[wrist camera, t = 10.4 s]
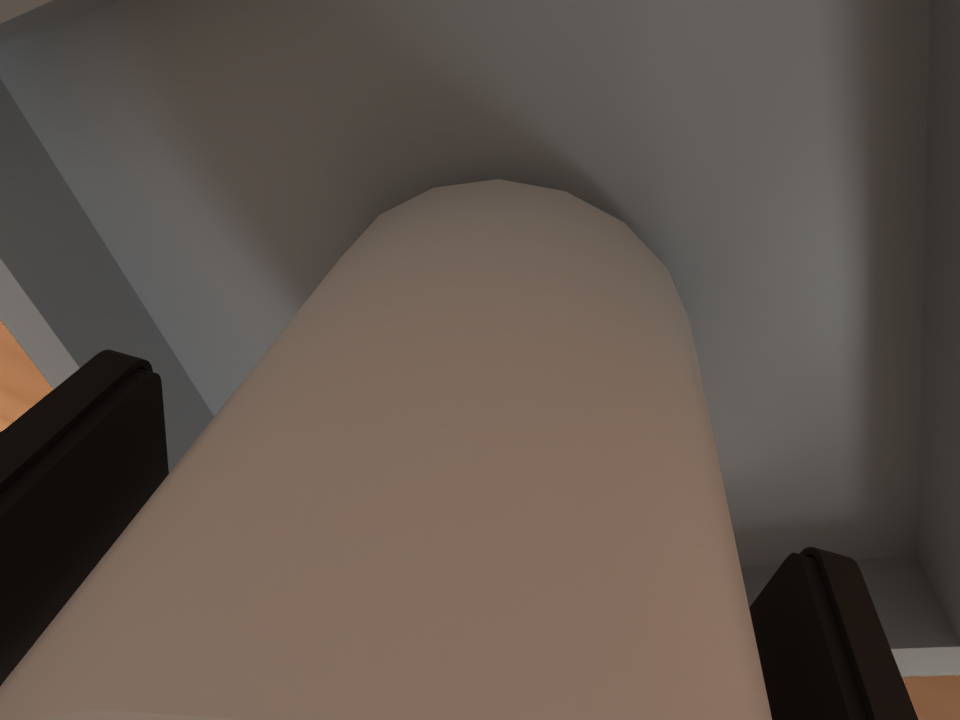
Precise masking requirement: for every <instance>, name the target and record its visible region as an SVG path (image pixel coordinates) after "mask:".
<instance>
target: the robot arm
mask: <svg viewBox="0 0 960 720" xmlns="http://www.w3.org/2000/svg"><path fill="white" fill-rule="evenodd" d="M168 474H169V468H168V455H167V443H166V430H165V418H164V405H163V393H162V381H161V377H160V375H159V374H157V373H154V372H153V369H152V365H151V364H150V362H149V361H147V360H145V359H142V358H138V357H135V356H131V355H127V354H124V353H120V352H117V351H113V350H110V349H108V350H103V351H101V352H100V353H98V354H97V355H95V356H94V357H93V358H92V359H90V360H89V361H88V362H87V363H86V364H84V365H83V366H82V367H81V368H79V369H78V370H77V371H76V372H75V373H73V374H72V375H71V376H70V377H68V378H67V379H66V380H65V381H64V382H62V383H61V384H60V385H59V386H57V387H56V388H55V389H54V390H53V391H51V392H50V393H49V394H48V395H46V396H45V397H44V398H43V399H42V400H40V401H39V402H38V403H37V404H35V405H34V406H33V407H32V408H30V409H29V410H28V411H27V412H26V413H24V414H23V415H22V416H21V417H19V418H18V419H17V420H16V421H15V422H13V423H12V424H11V425H10V426H8V427H7V428H6V429H5V430H3V431H2V432H0V686H1V685H2V684H3V682H4V681H5V680H6V679H7V677H8V676H9V675H10V673H11V672H12V671H13V670H14V668H15V667H16V666H17V665H18V663H19V662H20V661H21V660H22V658H23V657H24V656H25V655H26V653H27V652H28V651H29V650H30V648H31V647H32V646H33V645H34V643H35V642H36V641H37V639H38V638H39V637H40V636H41V634H42V633H43V632H44V631H45V629H46V628H47V627H48V626H49V624H50V623H51V622H52V621H53V619H54V618H55V617H56V616H57V614H58V613H59V612H60V610H61V609H62V608H63V607H64V605H65V604H66V603H67V602H68V600H69V599H70V598H71V597H72V595H73V594H74V593H75V592H76V590H77V589H78V588H79V587H80V585H81V584H82V583H83V582H84V580H85V579H86V578H87V576H88V575H89V574H90V573H91V571H92V570H93V569H94V568H95V566H96V565H97V564H98V563H99V561H100V560H101V559H102V558H103V556H104V555H105V554H106V553H107V551H108V550H109V549H110V547H111V546H112V545H113V544H114V542H115V541H116V540H117V539H118V537H119V536H120V535H121V534H122V532H123V531H124V530H125V529H126V527H127V526H128V525H129V524H130V522H131V521H132V520H133V519H134V517H135V516H136V515H137V513H138V512H139V511H140V510H141V508H142V507H143V506H144V505H145V503H146V502H147V501H148V500H149V498H150V497H151V496H152V495H153V493H154V492H155V491H156V490H157V488H158V487H159V486H160V485H161V483H162V482H163V481H164V479H165V478H166V477H167V476H168ZM749 610H750V615H751V620H752V625H753V629H754V634H755V639H756V644H757V649H758V654H759V658H760V663H761V668H762V673H763V678H764V683H765V687H766V692H767V697H768V702H769V707H770V712H771V717H772V720H918V718H917V715H916V713H915V710H914V708H913V705H912V702H911V700H910V697H909V695H908V692H907V689H906V687H905V684H904V682H903V679H902V676H901V674H900V671H899V669H898V666H897V663H896V661H895V658H894V656H893V653H892V651H891V648H890V645H889V643H888V640H887V638H886V635H885V632H884V630H883V627H882V625H881V622H880V619H879V617H878V614H877V612H876V609H875V606H874V604H873V601H872V599H871V596H870V593H869V591H868V588H867V586H866V583H865V580H864V578H863V575H862V573H861V570H860V568H859V566H858V564H857V562H856V561H855V560H853V559H852V558H850V557H847V556H843V555H840V554H836V553H833V552H829V551H825V550H822V549H818V548H815V547H807V548H805V549H803V550H802V551H801V552H800V553H799V554H798V553H791V554H790V555H789V556H788V557H787V558H786V559H785V560H784V562H783V563H782V564H781V566H780V567H779V568H778V570H777V571H776V572H775V574H774V575H773V576H772V578H771V579H770V580H769V582H768V583H767V584H766V586H765V587H764V588H763V590H762V591H761V593H760V594H759V595H758V597H757V598H756V599H755V601H754V602H753V603H752V605H751V606H750V607H749Z"/></svg>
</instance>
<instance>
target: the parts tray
mask: <svg viewBox="0 0 960 720" xmlns="http://www.w3.org/2000/svg"><path fill="white" fill-rule="evenodd" d="M495 179H501V180H506V181H512V182H517V183H523V184H528V185H534V186H539V187H545V188H550V189H556V190H561V191H566V192H568V193H570V194H572V195H573V196H575V197H577V198H579V199H581V200H583V201H585V202H587V203H588V204H590V205H592V206H594V207H596V208H598V209H600V210H602V211H603V212H605V213H607V214H609V215H611V216H613V217H615V218H617V219H619V220H620V221H622V222H624V223H625V224H626V225H627V226H628V227H629V228H630V229H631V230H632V231H633V232H634V233H635V234H636V235H637V236H638V238H639V239H640V240H641V241H642V242H643V243H644V244H645V245H646V246H647V247H648V248H649V249H650V250H651V251H652V252H653V253H654V254H655V256H656V257H657V258H658V259H659V260H660V261H661V262H662V263H663V264H664V265H665V266H666V267H667V268H668V271H669V273H670V275H671V278H672V280H673V282H674V285H675V287H676V289H677V292H678V294H679V297H680V299H681V301H682V304H683V306H684V308H685V311H686V313H687V315H688V318H689V320H690V324H691V329H692V334H693V339H694V344H695V349H696V353H697V358H698V363H699V368H700V373H701V378H702V383H703V387H704V392H705V397H706V402H707V407H708V412H709V416H710V421H711V426H712V431H713V436H714V441H715V445H716V450H717V455H718V460H719V465H720V470H721V474H722V479H723V484H724V489H725V494H726V499H727V504H728V508H729V513H730V518H731V523H732V528H733V533H734V537H735V542H736V547H737V552H738V557H739V562H740V566H741V571H742V576H743V581H744V586H745V591H746V596H747V600H748V605H749V607H750V606H751V605H752V603H753V602H754V601H755V599H756V598H757V597H758V595H759V594H760V593H761V591H762V590H763V588H764V587H765V586H766V584H767V583H768V582H769V580H770V579H771V578H772V576H773V575H774V574H775V572H776V571H777V570H778V568H779V567H780V566H781V564H782V563H783V562H784V560H785V559H786V558H787V557H788V556H789V555H790V554H791V553H798V554H799V553H800V552H801V551H802V550H803V549H805V548H807V547H815V548H818V549H822V550H825V551H829V552H833V553H836V554H840V555H843V556H847V557H850V558H852V559H853V560H855V561H856V562H857V564H858V566H859V568H860V570H861V573H862V575H863V578H864V580H865V583H866V586H867V588H868V591H869V593H870V596H871V599H872V601H873V604H874V606H875V609H876V612H877V614H878V617H879V619H880V622H881V625H882V627H883V630H884V632H885V635H886V638H887V640H888V643H889V645H890V648H891V651H892V653H893V656H894V658H895V661H896V663H897V666H898V669H899V671H900V674H901V676H902V677H911V676H953V675H960V0H0V320H1V321H2V322H3V324H4V325H5V326H6V328H7V329H8V330H9V331H10V333H11V334H12V335H13V337H14V338H15V339H16V341H17V342H18V343H19V345H20V346H21V347H22V349H23V350H24V351H25V353H26V354H27V355H28V356H29V358H30V359H31V360H32V362H33V363H34V364H35V366H36V367H37V368H38V370H39V371H40V372H41V374H42V375H43V376H44V377H45V379H46V380H47V381H48V383H49V384H50V385H51V387H52V388H53V389H55V388H56V387H57V386H59V385H60V384H61V383H62V382H64V381H65V380H66V379H67V378H68V377H70V376H71V375H72V374H73V373H75V372H76V371H77V370H78V369H79V368H81V367H82V366H83V365H84V364H86V363H87V362H88V361H89V360H90V359H92V358H93V357H94V356H95V355H97V354H98V353H100V352H101V351H103V350H108V349H110V350H113V351H117V352H120V353H124V354H127V355H131V356H135V357H138V358H142V359H145V360H147V361H149V362H150V364H151V365H152V369H153V372H154V373H157V374H159V375H160V377H161V381H162V393H163V405H164V418H165V430H166V443H167V455H168V468H169V473H170V472H171V471H172V469H173V468H174V467H175V466H176V464H177V463H178V462H179V461H180V459H181V458H182V457H183V456H184V454H185V453H186V452H187V450H188V449H189V448H190V447H191V445H192V444H193V443H194V442H195V440H196V439H197V438H198V437H199V435H200V434H201V433H202V432H203V430H204V429H205V428H206V427H207V425H208V424H209V423H210V422H211V420H212V419H213V418H214V416H215V415H216V414H217V413H218V411H219V410H220V409H221V408H222V406H223V405H224V404H225V403H226V401H227V400H228V399H229V398H230V396H231V395H232V394H233V393H234V391H235V390H236V389H237V388H238V386H239V385H240V384H241V382H242V381H243V380H244V379H245V377H246V376H247V375H248V374H249V372H250V371H251V370H252V369H253V367H254V366H255V365H256V364H257V362H258V361H259V360H260V359H261V357H262V356H263V355H264V353H265V352H266V351H267V350H268V348H269V347H270V346H271V345H272V343H273V342H274V341H275V340H276V338H277V337H278V336H279V335H280V333H281V332H282V331H283V330H284V328H285V327H286V326H287V325H288V323H289V322H290V321H291V319H292V318H293V317H294V316H295V314H296V313H297V312H298V311H299V309H300V308H301V307H302V306H303V304H304V303H305V302H306V301H307V299H308V298H309V297H310V296H311V294H312V293H313V292H314V291H315V289H316V288H317V287H318V285H319V284H320V283H321V282H322V280H323V279H324V278H325V277H326V275H327V274H328V273H329V272H330V270H331V269H332V268H333V267H334V265H335V264H336V263H337V262H338V260H339V259H340V258H341V256H342V255H343V254H344V253H345V252H346V251H347V250H348V249H349V248H350V246H351V245H352V244H353V243H354V242H355V241H356V240H357V239H358V238H359V237H360V236H361V235H362V233H363V232H364V231H365V230H366V229H367V228H368V227H369V226H370V225H371V224H372V223H373V222H374V220H375V219H376V218H377V217H378V216H379V215H380V214H382V213H384V212H386V211H388V210H390V209H392V208H394V207H396V206H398V205H400V204H402V203H404V202H406V201H408V200H410V199H412V198H414V197H416V196H418V195H420V194H422V193H424V192H426V191H428V190H430V189H432V188H435V187H443V186H450V185H458V184H465V183H473V182H480V181H488V180H495Z"/></svg>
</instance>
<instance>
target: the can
mask: <svg viewBox="0 0 960 720" xmlns="http://www.w3.org/2000/svg"><path fill="white" fill-rule="evenodd" d="M0 720H772V717H771V712H770V707H769V702H768V697H767V692H766V687H765V683H764V678H763V673H762V668H761V663H760V658H759V654H758V649H757V644H756V639H755V634H754V629H753V625H752V620H751V615H750V610H749V605H748V600H747V596H746V591H745V586H744V581H743V576H742V571H741V566H740V562H739V557H738V552H737V547H736V542H735V537H734V533H733V528H732V523H731V518H730V513H729V508H728V504H727V499H726V494H725V489H724V484H723V479H722V474H721V470H720V465H719V460H718V455H717V450H716V445H715V441H714V436H713V431H712V426H711V421H710V416H709V412H708V407H707V402H706V397H705V392H704V387H703V383H702V378H701V373H700V368H699V363H698V358H697V353H696V349H695V344H694V339H693V334H692V329H691V324H690V320H689V318H688V315H687V313H686V311H685V308H684V306H683V304H682V301H681V299H680V297H679V294H678V292H677V289H676V287H675V285H674V282H673V280H672V278H671V275H670V273H669V271H668V268H667V267H666V266H665V265H664V264H663V263H662V262H661V261H660V260H659V259H658V258H657V257H656V256H655V254H654V253H653V252H652V251H651V250H650V249H649V248H648V247H647V246H646V245H645V244H644V243H643V242H642V241H641V240H640V239H639V238H638V236H637V235H636V234H635V233H634V232H633V231H632V230H631V229H630V228H629V227H628V226H627V225H626V224H625V223H624V222H622V221H620V220H619V219H617V218H615V217H613V216H611V215H609V214H607V213H605V212H603V211H602V210H600V209H598V208H596V207H594V206H592V205H590V204H588V203H587V202H585V201H583V200H581V199H579V198H577V197H575V196H573V195H572V194H570V193H568V192H566V191H561V190H556V189H550V188H545V187H539V186H534V185H528V184H523V183H517V182H512V181H506V180H501V179H495V180H488V181H480V182H473V183H465V184H458V185H450V186H443V187H435V188H432V189H430V190H428V191H426V192H424V193H422V194H420V195H418V196H416V197H414V198H412V199H410V200H408V201H406V202H404V203H402V204H400V205H398V206H396V207H394V208H392V209H390V210H388V211H386V212H384V213H382V214H380V215H379V216H378V217H377V218H376V219H375V220H374V222H373V223H372V224H371V225H370V226H369V227H368V228H367V229H366V230H365V231H364V232H363V233H362V235H361V236H360V237H359V238H358V239H357V240H356V241H355V242H354V243H353V244H352V245H351V246H350V248H349V249H348V250H347V251H346V252H345V253H344V254H343V255H342V256H341V258H340V259H339V260H338V262H337V263H336V264H335V265H334V267H333V268H332V269H331V270H330V272H329V273H328V274H327V275H326V277H325V278H324V279H323V280H322V282H321V283H320V284H319V285H318V287H317V288H316V289H315V291H314V292H313V293H312V294H311V296H310V297H309V298H308V299H307V301H306V302H305V303H304V304H303V306H302V307H301V308H300V309H299V311H298V312H297V313H296V314H295V316H294V317H293V318H292V319H291V321H290V322H289V323H288V325H287V326H286V327H285V328H284V330H283V331H282V332H281V333H280V335H279V336H278V337H277V338H276V340H275V341H274V342H273V343H272V345H271V346H270V347H269V348H268V350H267V351H266V352H265V353H264V355H263V356H262V357H261V359H260V360H259V361H258V362H257V364H256V365H255V366H254V367H253V369H252V370H251V371H250V372H249V374H248V375H247V376H246V377H245V379H244V380H243V381H242V382H241V384H240V385H239V386H238V388H237V389H236V390H235V391H234V393H233V394H232V395H231V396H230V398H229V399H228V400H227V401H226V403H225V404H224V405H223V406H222V408H221V409H220V410H219V411H218V413H217V414H216V415H215V416H214V418H213V419H212V420H211V422H210V423H209V424H208V425H207V427H206V428H205V429H204V430H203V432H202V433H201V434H200V435H199V437H198V438H197V439H196V440H195V442H194V443H193V444H192V445H191V447H190V448H189V449H188V450H187V452H186V453H185V454H184V456H183V457H182V458H181V459H180V461H179V462H178V463H177V464H176V466H175V467H174V468H173V469H172V471H171V472H170V473H169V474H168V476H167V477H166V478H165V479H164V481H163V482H162V483H161V485H160V486H159V487H158V488H157V490H156V491H155V492H154V493H153V495H152V496H151V497H150V498H149V500H148V501H147V502H146V503H145V505H144V506H143V507H142V508H141V510H140V511H139V512H138V513H137V515H136V516H135V517H134V519H133V520H132V521H131V522H130V524H129V525H128V526H127V527H126V529H125V530H124V531H123V532H122V534H121V535H120V536H119V537H118V539H117V540H116V541H115V542H114V544H113V545H112V546H111V547H110V549H109V550H108V551H107V553H106V554H105V555H104V556H103V558H102V559H101V560H100V561H99V563H98V564H97V565H96V566H95V568H94V569H93V570H92V571H91V573H90V574H89V575H88V576H87V578H86V579H85V580H84V582H83V583H82V584H81V585H80V587H79V588H78V589H77V590H76V592H75V593H74V594H73V595H72V597H71V598H70V599H69V600H68V602H67V603H66V604H65V605H64V607H63V608H62V609H61V610H60V612H59V613H58V614H57V616H56V617H55V618H54V619H53V621H52V622H51V623H50V624H49V626H48V627H47V628H46V629H45V631H44V632H43V633H42V634H41V636H40V637H39V638H38V639H37V641H36V642H35V643H34V645H33V646H32V647H31V648H30V650H29V651H28V652H27V653H26V655H25V656H24V657H23V658H22V660H21V661H20V662H19V663H18V665H17V666H16V667H15V668H14V670H13V671H12V672H11V673H10V675H9V676H8V677H7V679H6V680H5V681H4V682H3V684H2V685H1V686H0Z"/></svg>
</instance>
